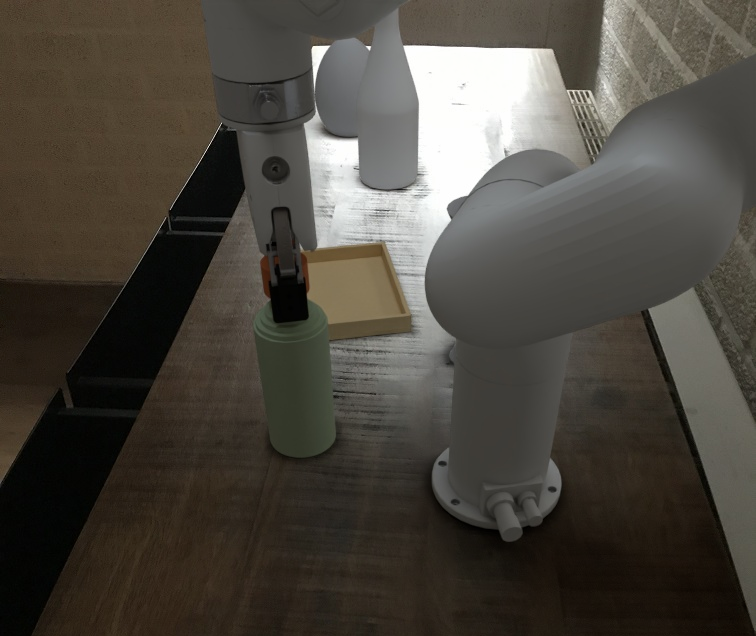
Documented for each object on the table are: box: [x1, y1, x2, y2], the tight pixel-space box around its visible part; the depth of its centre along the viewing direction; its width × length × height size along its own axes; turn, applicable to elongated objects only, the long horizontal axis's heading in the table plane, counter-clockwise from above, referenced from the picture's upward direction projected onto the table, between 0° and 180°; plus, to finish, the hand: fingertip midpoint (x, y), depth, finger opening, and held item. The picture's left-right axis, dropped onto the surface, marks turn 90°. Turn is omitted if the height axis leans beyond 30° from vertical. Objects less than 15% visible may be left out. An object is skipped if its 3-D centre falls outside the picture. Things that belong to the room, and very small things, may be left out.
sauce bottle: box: [252, 298, 337, 459], centre depth 78 cm, size 7×7×20 cm
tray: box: [300, 241, 412, 341], centre depth 103 cm, size 19×14×2 cm
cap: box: [259, 253, 310, 299], centre depth 71 cm, size 4×4×3 cm
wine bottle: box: [357, 8, 420, 191], centre depth 119 cm, size 10×10×30 cm
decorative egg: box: [314, 37, 370, 138], centre depth 140 cm, size 12×12×15 cm
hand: (288, 304), depth 73 cm, fingers closed on cap, 4 cm apart
